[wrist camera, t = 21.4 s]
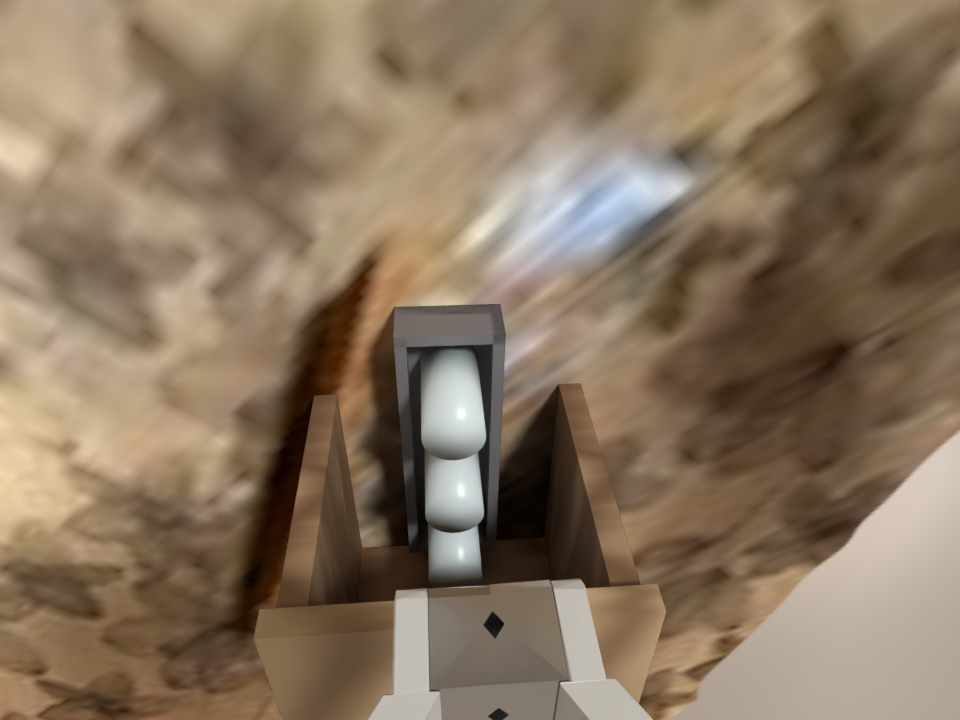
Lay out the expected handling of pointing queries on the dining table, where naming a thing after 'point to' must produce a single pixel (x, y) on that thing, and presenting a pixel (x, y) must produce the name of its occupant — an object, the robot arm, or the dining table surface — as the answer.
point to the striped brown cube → (382, 570)
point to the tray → (410, 401)
